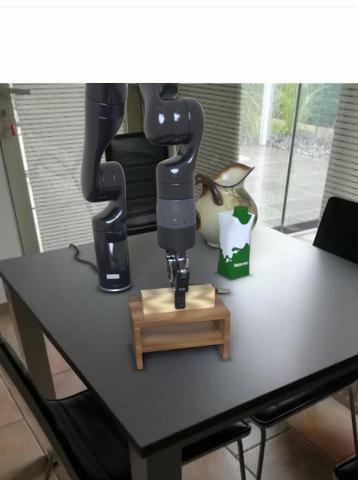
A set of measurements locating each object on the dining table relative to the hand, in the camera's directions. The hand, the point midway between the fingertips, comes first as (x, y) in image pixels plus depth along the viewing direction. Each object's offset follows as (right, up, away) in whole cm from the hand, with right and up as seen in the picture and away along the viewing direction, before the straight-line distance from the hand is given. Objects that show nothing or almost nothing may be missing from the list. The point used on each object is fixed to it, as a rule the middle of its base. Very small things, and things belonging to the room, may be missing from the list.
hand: (178, 304), depth 101 cm
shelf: (0, -9, +7) cm, 12 cm away
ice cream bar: (+7, +9, +34) cm, 36 cm away
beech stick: (0, -1, 0) cm, 1 cm away
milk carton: (+17, +17, +46) cm, 52 cm away
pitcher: (+16, +33, +70) cm, 79 cm away
